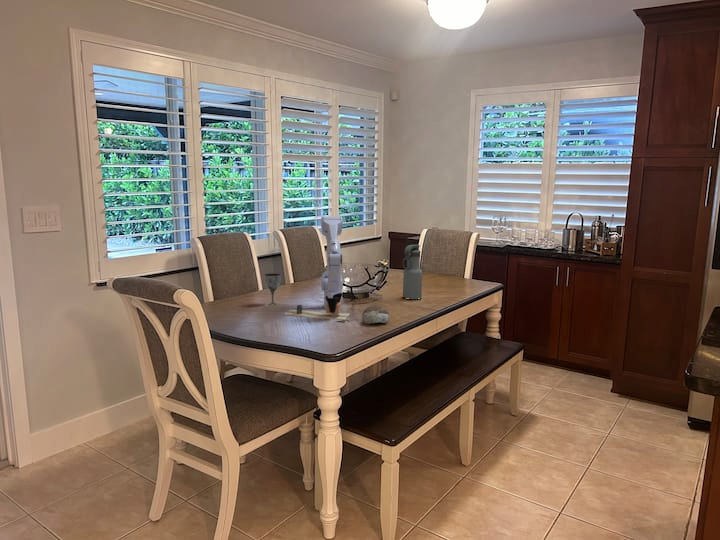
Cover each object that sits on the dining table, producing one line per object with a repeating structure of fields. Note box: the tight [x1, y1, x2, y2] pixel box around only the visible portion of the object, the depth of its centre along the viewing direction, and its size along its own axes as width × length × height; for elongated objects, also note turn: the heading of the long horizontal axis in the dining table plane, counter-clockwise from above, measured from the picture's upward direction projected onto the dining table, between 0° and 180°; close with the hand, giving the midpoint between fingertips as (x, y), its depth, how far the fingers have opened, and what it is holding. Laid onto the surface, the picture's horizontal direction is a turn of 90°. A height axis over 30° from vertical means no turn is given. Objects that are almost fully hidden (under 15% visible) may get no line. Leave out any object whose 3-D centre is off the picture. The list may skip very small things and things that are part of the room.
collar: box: [325, 301, 343, 314], centre depth 238 cm, size 6×6×4 cm
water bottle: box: [402, 244, 423, 299], centre depth 280 cm, size 10×10×28 cm
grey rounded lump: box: [361, 305, 390, 325], centre depth 233 cm, size 14×9×10 cm
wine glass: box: [263, 272, 282, 307], centre depth 261 cm, size 8×8×15 cm
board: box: [282, 304, 351, 324], centre depth 240 cm, size 12×28×5 cm, turn 79°
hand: (334, 310), depth 238 cm, fingers closed on collar, 5 cm apart
